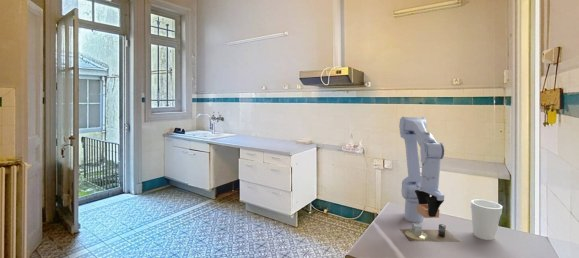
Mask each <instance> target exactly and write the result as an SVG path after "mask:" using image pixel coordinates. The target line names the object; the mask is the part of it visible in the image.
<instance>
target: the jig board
mask: <svg viewBox="0 0 579 258" xmlns="http://www.w3.org/2000/svg"><path fill="white" fill-rule="evenodd" d="M399 230H400V232H401V233H402V234H403V236H404V237H405V238H406V239H407V240H408V241H409V242H436V243H437V242H441V243H443V242H445V243H461V241H460V240H459V239H458V238H457V237H456V236H454V235H453V233H452V232H450V231H449V230H447V229H446V230H445V237H441V236H439V235H438V230H439V229H422V231H421V232H423V233H425V234H426V235H427V236H428V238H427V239H426V240H415V239H412V238H410V237H408V236H406V235H405V231H407V230H412V228H410V229H406V228H399Z"/></svg>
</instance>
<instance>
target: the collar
mask: <svg viewBox="0 0 579 258" xmlns="http://www.w3.org/2000/svg"><path fill="white" fill-rule="evenodd" d="M417 212H418V213H419V214H420V215H422V216H423V217H424V218H425V219H428V218H429V219H433V218H434V219H436V218H440V208H439V209H438V211H437V214H436V216H435V217H430V216H429V213H428V204H418V205H417ZM424 218H423V219H424Z"/></svg>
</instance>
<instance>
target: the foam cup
mask: <svg viewBox="0 0 579 258" xmlns="http://www.w3.org/2000/svg"><path fill="white" fill-rule="evenodd" d="M503 207H504V206H503V205H501V204H500V203H498V202H495V201H492V200H487V199H480V198H479V199H477V198H476V199H472V200H471V201H470V210H471V212H470V213H471V223H472V224H471V226H472V235H473V236H474V237H476V238H477V239H481V240H485V241H493V240H495V237H496V233H497V231H498V227H499V222H500V219H501V216H502V213H503Z"/></svg>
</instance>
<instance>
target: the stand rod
mask: <svg viewBox="0 0 579 258" xmlns="http://www.w3.org/2000/svg"><path fill="white" fill-rule="evenodd" d="M446 228H447V226H446V225H445V224H442V223H440V224H438V229H437V230H438V235H439V236H441V237H445V230H447V229H446Z"/></svg>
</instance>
